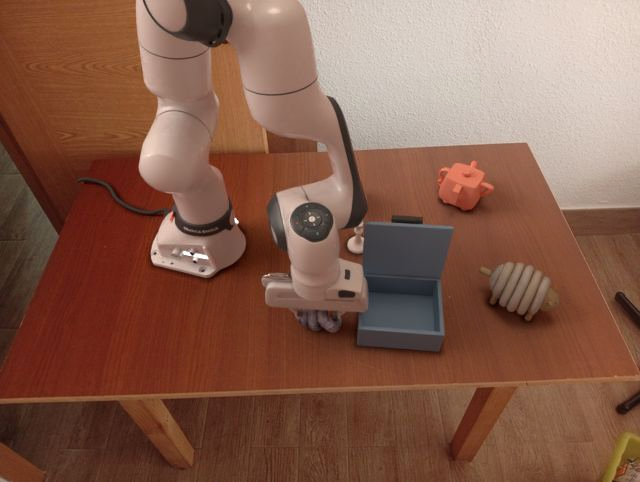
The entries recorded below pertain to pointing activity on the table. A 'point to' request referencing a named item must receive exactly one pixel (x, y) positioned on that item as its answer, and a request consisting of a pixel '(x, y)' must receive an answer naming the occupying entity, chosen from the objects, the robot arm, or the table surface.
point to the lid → (405, 247)
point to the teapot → (463, 185)
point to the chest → (402, 313)
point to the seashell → (318, 320)
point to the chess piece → (356, 240)
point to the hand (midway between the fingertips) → (318, 314)
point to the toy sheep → (521, 289)
